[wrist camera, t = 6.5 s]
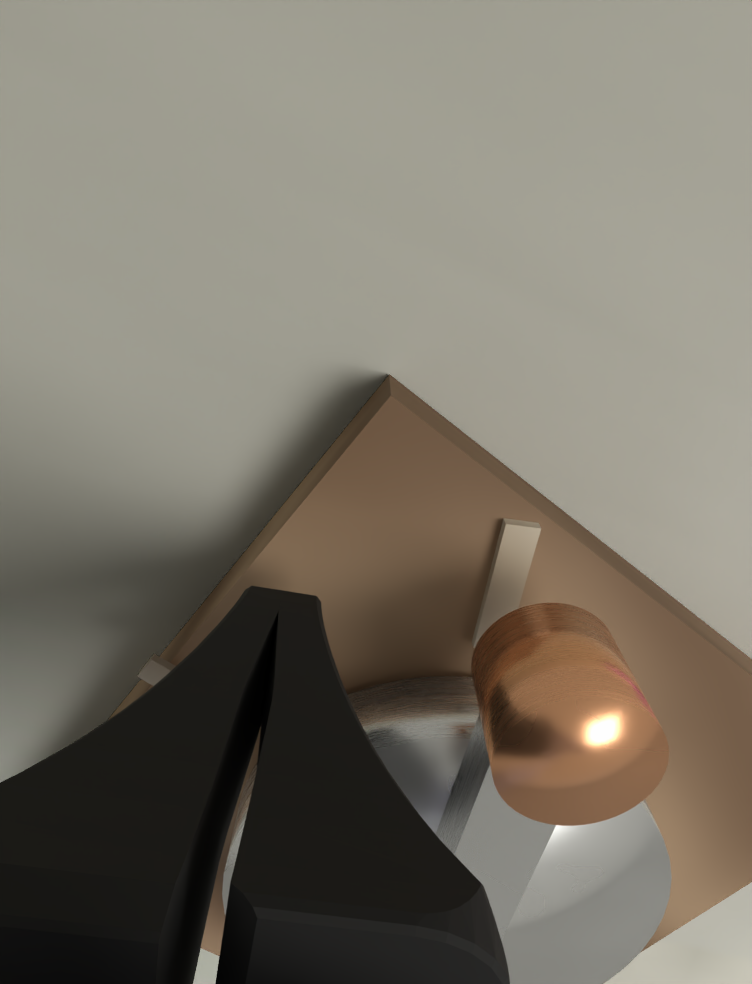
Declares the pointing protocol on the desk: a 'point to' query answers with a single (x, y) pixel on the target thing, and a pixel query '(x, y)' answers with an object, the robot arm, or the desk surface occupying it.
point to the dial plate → (493, 616)
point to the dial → (535, 788)
